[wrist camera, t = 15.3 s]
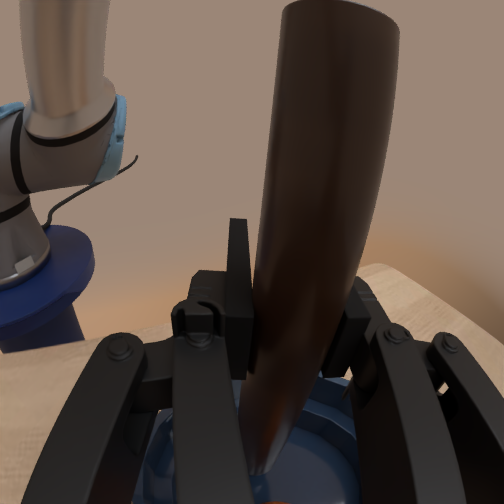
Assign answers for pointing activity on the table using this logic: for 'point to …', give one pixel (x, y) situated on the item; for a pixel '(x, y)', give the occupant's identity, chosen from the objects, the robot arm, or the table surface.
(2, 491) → the table surface
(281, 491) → the bowl
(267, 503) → the ball
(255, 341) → the stick
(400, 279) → the table surface
